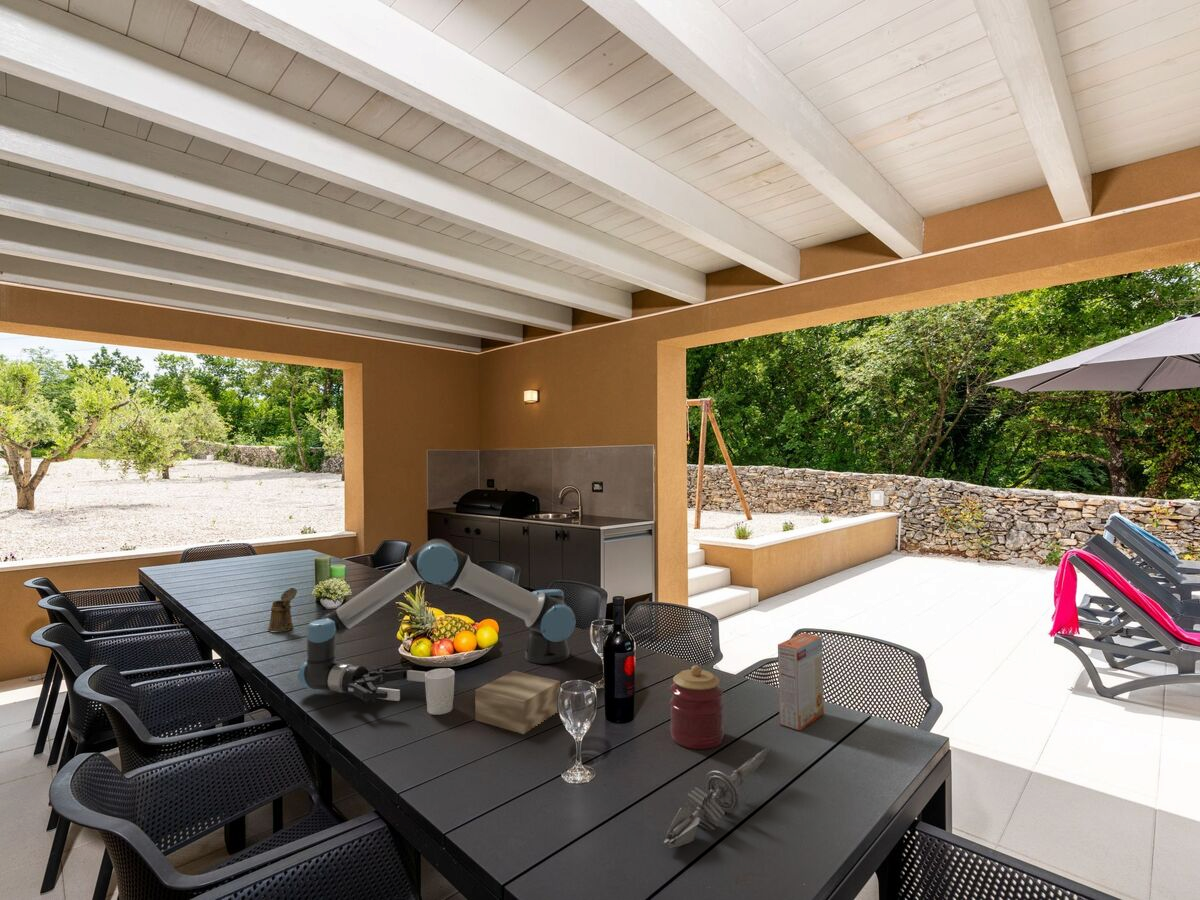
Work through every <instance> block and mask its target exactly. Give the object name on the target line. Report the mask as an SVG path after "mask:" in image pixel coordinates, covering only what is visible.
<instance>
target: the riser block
mask: <svg viewBox="0 0 1200 900" xmlns="http://www.w3.org/2000/svg"><path fill="white" fill-rule="evenodd" d="M559 689H560V690H561V681H560V680H556V679H552V678H547V677H545V676H544V677H543V676H538V675H533V674H530V673H525V672H521V671H517V670H512V671H511V672H509V673H506V674H505V675H503V676H501V677H499V678H496V679H494V680H492V681H490V682H488V683H486V684H484V685H482V686H480V687H478V688H476V689H475V690H474V691H475V692H474V694H475V695H474V698H475V701H474V702H475V714H474V715H475V716H474V717H475V721H477V722H480V723H484V724H488V725H490V726H494V727H498V728H501V729H503V730H507V731H511V732H514V733H517V732H518V734H521V735H525V734H526V733H528V732H529V731H531V730H532V728H533V729H534V728H536V727H537V726H538V724H539V725H541V724H542V723H543V722H545V721H547V720H548V719H550V718H551V717H552V715H553V716H555V713H556V714H558V712H557V696H558V692H559ZM549 717H550V718H549ZM547 718H548V719H547ZM544 720H545V721H544ZM541 722H542V723H541ZM535 726H536V727H535Z"/></svg>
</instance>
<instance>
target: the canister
mask: <svg viewBox="0 0 1200 900" xmlns="http://www.w3.org/2000/svg"><path fill="white" fill-rule="evenodd" d="M672 680H673V683H672V684H671V685H670V686H669V691H670V693H671V698H670V700H669V704H670V724H669V725H670V726H669V732H670V737H671V739H672V740H673V742H675V743H676V744H677V745H679V746H682V747H685V748H687V749H694V750H707V749H712V748H716V747H718V746H719V745H721V744H722V742H723V738H724V734H725V733H724V730H725V729H724V721H723V719H724V714H723V709H724V703H723V701H722V696H723V695H724V689H723V688H722V687H721V686H720V682H721V681H720V678H719V677H718V676H717V675H715V674H713V673H712V672H710V671H708V670H705V669H702V668H701V666H700V665H698V664H694V665H693V666H691V668H689V669H684V670H681V671H680V672H679V673H677V674H675V675H674V676H673V678H672Z"/></svg>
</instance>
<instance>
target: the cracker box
mask: <svg viewBox="0 0 1200 900" xmlns="http://www.w3.org/2000/svg"><path fill="white" fill-rule="evenodd" d="M777 661H778V662H777V664H778V666H777V667H778V699H779V701H778V703H779V709H778V710H779V725H781V726H783V727H786V728H789V729H793V730H795V731H798V732H801V731H802V730H803V729H804V728H806V727H807V726H809V725H811V724H812V723H813V722H814V721H816V720H817V719H819V718H820V717H821V716H823V715H824V714H825V712H824V711H825V710H824V704H825V703H824V671H823V670H824V669H823V667H824V665H823V636H820V635H816V634H811V633H806V632H802V633H800V634H798V635H796V636H792V638H789V639H787V640H785V641H783V642H780V643H778V644H777Z"/></svg>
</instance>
